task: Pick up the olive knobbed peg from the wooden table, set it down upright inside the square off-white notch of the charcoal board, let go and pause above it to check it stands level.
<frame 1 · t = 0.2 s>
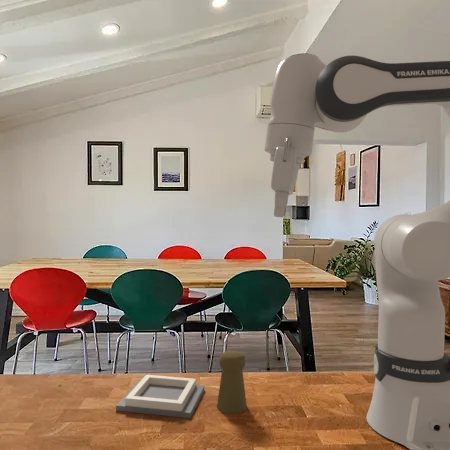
hand: (279, 216, 77), 38 cm above the kitchen counter, tool pointing down, fingers open, 8 cm apart
notch board: (162, 399, 83), on the kitchen counter
olive knobbed peg: (231, 407, 81), on the kitchen counter
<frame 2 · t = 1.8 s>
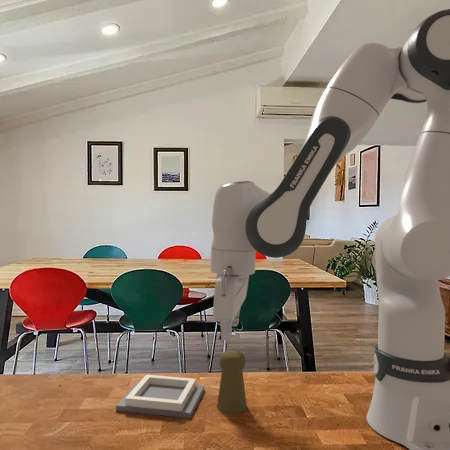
hand: (230, 332, 80), 15 cm above the kitchen counter, tool pointing down, fingers open, 8 cm apart
nothing on the kitchen counter moved.
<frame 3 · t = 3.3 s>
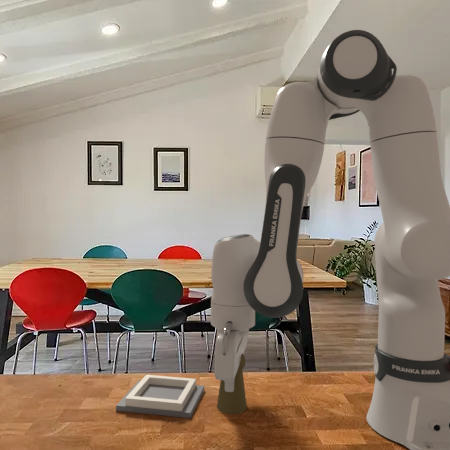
hand: (232, 383, 81), 5 cm above the kitchen counter, tool pointing down, fingers closed on olive knobbed peg, 4 cm apart
olive knobbed peg: (231, 407, 81), on the kitchen counter, touching gripper
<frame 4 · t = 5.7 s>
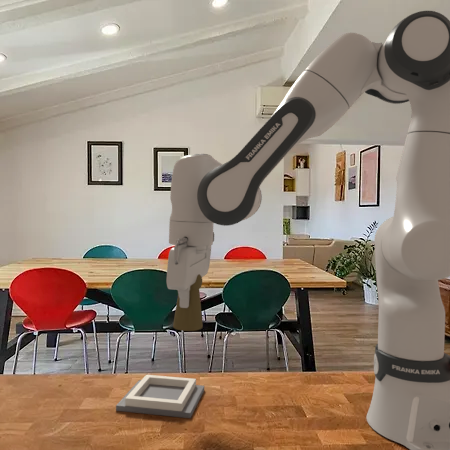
hand: (188, 303, 82), 20 cm above the kitchen counter, tool pointing down, fingers closed on olive knobbed peg, 4 cm apart
olive knobbed peg: (187, 327, 82), point 15 cm above the kitchen counter, touching gripper
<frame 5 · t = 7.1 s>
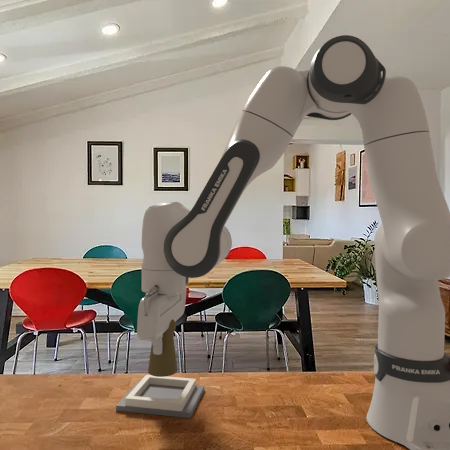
hand: (163, 348, 83), 11 cm above the kitchen counter, tool pointing down, fingers closed on olive knobbed peg, 4 cm apart
olive knobbed peg: (162, 371, 83), point 6 cm above the kitchen counter, touching gripper
when the fingers open (7 cm above the kitchen counter, at t = 8.3 s): olive knobbed peg stays where it is, resting on notch board.
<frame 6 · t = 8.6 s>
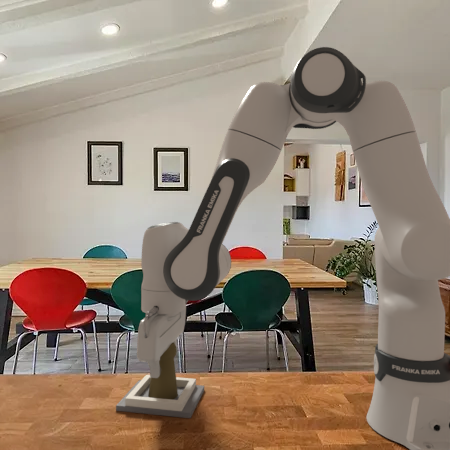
hand: (162, 367, 83), 7 cm above the kitchen counter, tool pointing down, fingers open, 8 cm apart
olive knobbed peg: (163, 395, 83), point 1 cm above the kitchen counter, touching notch board
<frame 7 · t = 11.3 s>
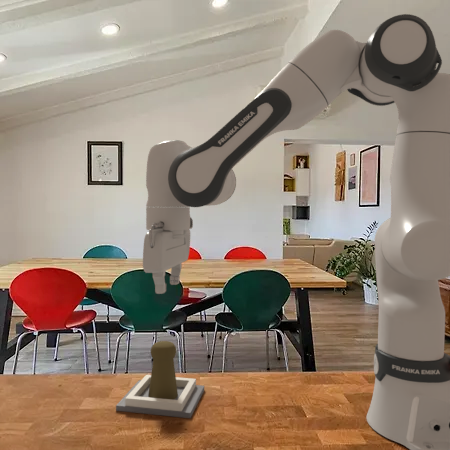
hand: (168, 288, 83), 23 cm above the kitchen counter, tool pointing down, fingers open, 8 cm apart
nothing on the kitchen counter moved.
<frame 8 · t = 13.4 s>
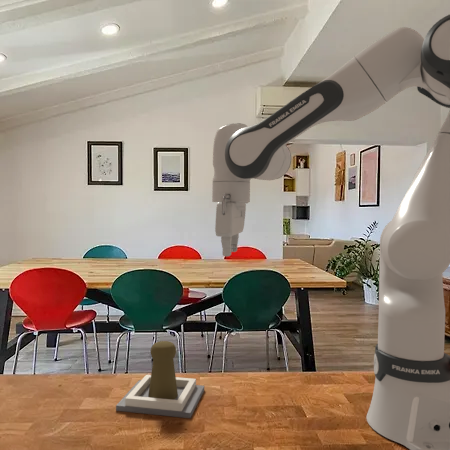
hand: (230, 253, 95), 29 cm above the kitchen counter, tool pointing down, fingers open, 8 cm apart
nothing on the kitchen counter moved.
at the end: olive knobbed peg 0.1 cm off-centre on the notch board, point 0.8 cm above the notch board's base; olive knobbed peg tilted 0°; the gripper is holding nothing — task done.
